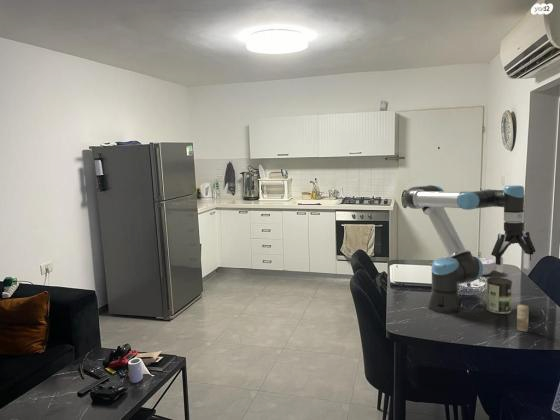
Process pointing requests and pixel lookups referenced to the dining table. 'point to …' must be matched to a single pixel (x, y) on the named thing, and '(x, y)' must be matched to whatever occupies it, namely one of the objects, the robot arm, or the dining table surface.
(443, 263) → the robot arm
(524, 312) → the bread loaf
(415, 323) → the dining table surface
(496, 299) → the coffee can
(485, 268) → the paper bowls
